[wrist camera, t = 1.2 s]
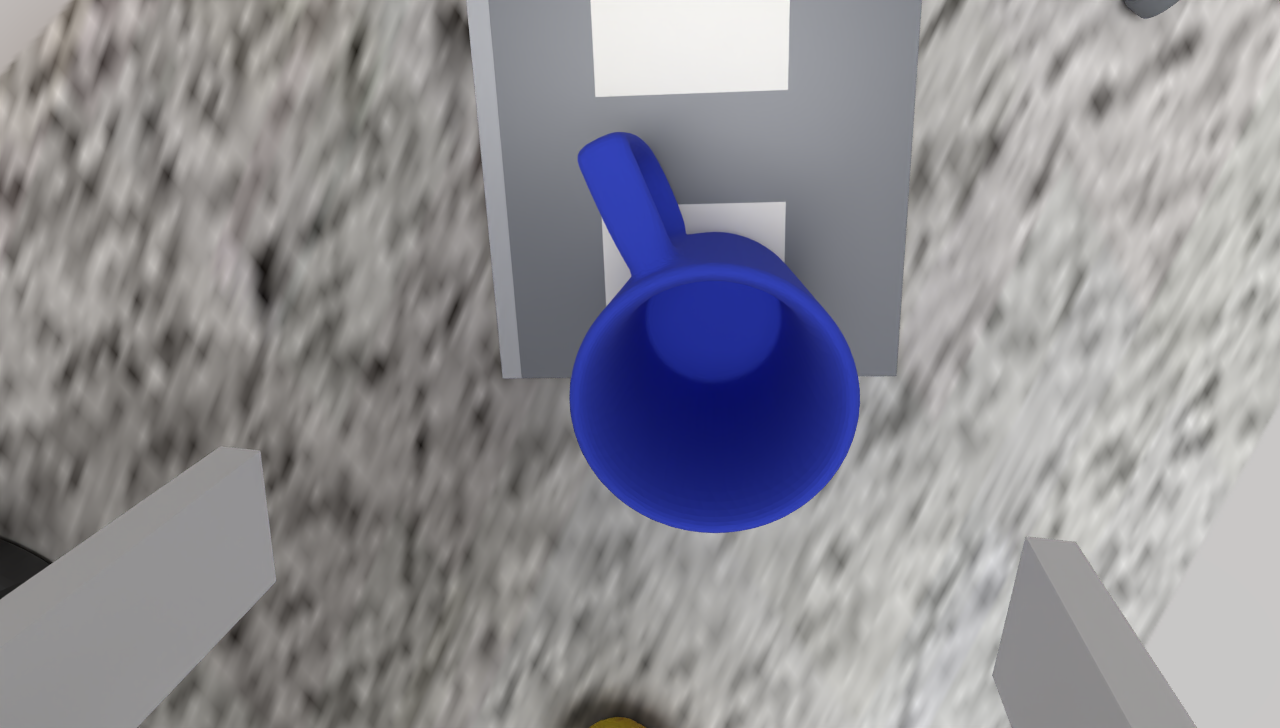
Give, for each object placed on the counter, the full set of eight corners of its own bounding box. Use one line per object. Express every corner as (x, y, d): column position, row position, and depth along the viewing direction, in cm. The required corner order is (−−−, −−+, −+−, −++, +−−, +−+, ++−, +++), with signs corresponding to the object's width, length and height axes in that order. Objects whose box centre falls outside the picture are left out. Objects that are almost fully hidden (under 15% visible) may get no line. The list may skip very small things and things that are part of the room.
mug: (731, 72, 30) (739, 70, 20) (848, 364, 33) (902, 479, 24) (531, 168, 31) (452, 207, 22) (661, 437, 35) (641, 571, 25)
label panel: (505, 374, 35) (502, 378, 34) (459, -108, 29) (455, -111, 29) (893, 372, 33) (896, 376, 33) (927, -137, 28) (931, -141, 27)
